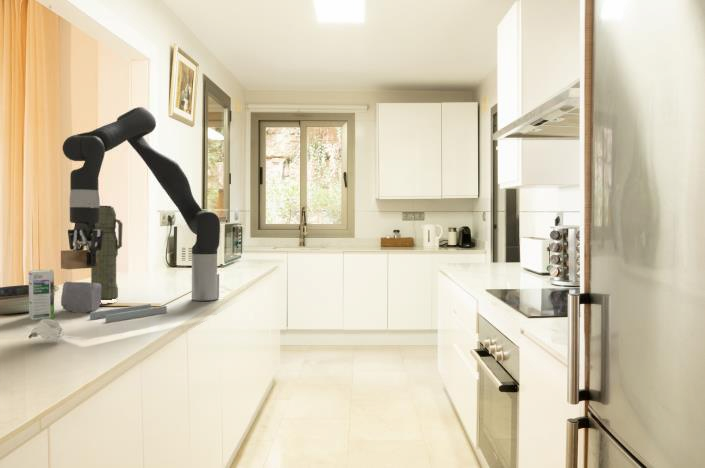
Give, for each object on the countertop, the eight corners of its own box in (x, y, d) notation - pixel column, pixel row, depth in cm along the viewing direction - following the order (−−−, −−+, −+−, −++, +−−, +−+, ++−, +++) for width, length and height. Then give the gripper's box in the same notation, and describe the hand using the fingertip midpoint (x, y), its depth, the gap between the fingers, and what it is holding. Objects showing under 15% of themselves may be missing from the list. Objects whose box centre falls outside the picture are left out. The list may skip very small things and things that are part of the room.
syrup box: (31, 320, 142) (31, 271, 142) (28, 318, 146) (28, 269, 146) (54, 318, 146) (54, 270, 145) (50, 315, 150) (50, 268, 150)
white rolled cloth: (41, 335, 123) (41, 316, 123) (69, 334, 124) (69, 315, 124) (24, 342, 115) (24, 322, 115) (54, 342, 116) (54, 321, 116)
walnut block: (91, 266, 143) (90, 249, 142) (98, 267, 139) (98, 250, 139) (60, 268, 136) (60, 250, 136) (67, 269, 133) (67, 251, 133)
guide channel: (148, 309, 162) (148, 303, 162) (166, 312, 157) (166, 306, 157) (89, 319, 145) (89, 312, 145) (107, 322, 140) (107, 315, 140)
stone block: (103, 311, 158) (103, 281, 158) (94, 314, 153) (94, 282, 153) (69, 311, 159) (69, 280, 159) (58, 313, 154) (58, 282, 154)
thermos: (120, 306, 170) (120, 205, 169) (82, 307, 166) (82, 205, 166) (124, 302, 178) (124, 206, 178) (88, 303, 174) (88, 206, 174)
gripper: (57, 206, 139) (58, 265, 140) (86, 205, 132) (86, 267, 132) (83, 207, 146) (84, 263, 146) (112, 206, 138) (112, 265, 138)
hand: (85, 265), depth 139 cm, fingers closed on walnut block, 5 cm apart
